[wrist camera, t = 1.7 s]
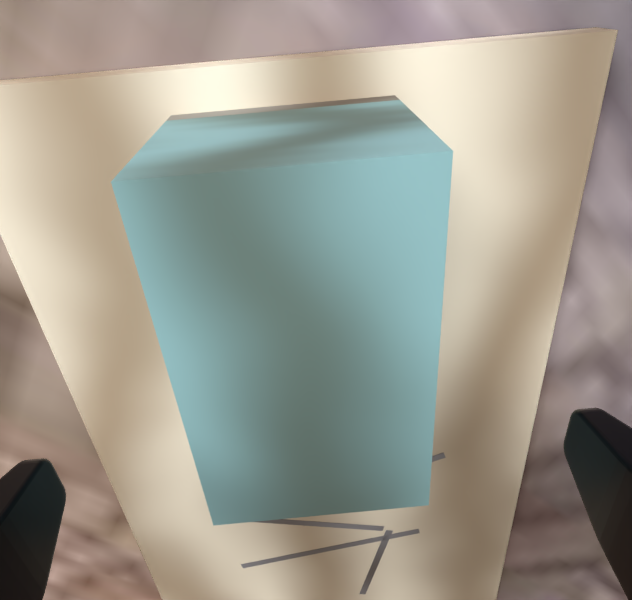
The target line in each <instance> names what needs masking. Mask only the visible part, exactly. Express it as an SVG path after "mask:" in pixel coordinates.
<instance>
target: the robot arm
mask: <svg viewBox="0 0 632 600" xmlns="http://www.w3.org/2000/svg"><path fill="white" fill-rule="evenodd" d="M564 452H565V456H566V459H567V462H568V464H569V467H570V469H571V472H572V474H573V477H574V480H575V482H576V485H577V487H578V490H579V492H580V495H581V498H582V500H583V503H584V505H585V508H586V511H587V513H588V516H589V518H590V521H591V523H592V526H593V528H594V531H595V533H596V536H597V538H598V540H599V543H600V545H601V547H602V549H603V551H604V553H605V555H606V557H607V559H608V561H609V563H610V565H611V567H612V569H613V571H614V573H615V575H616V577H617V578H618V580H619V582H620V584H621V586H622V588H623V590H624V592H625V594H626V596H627V598H628V600H632V428H631V427H629V426H627V425H626V424H624V423H623V422H621V421H620V420H618V419H616V418H615V417H613V416H612V415H610V414H608V413H607V412H605V411H604V410H602V409H599V408H588V409H578V410H575V411H574V412H573V413H572V415H571V417H570V421H569V425H568V429H567V432H566V436H565V440H564ZM65 502H66V492H65V488H64V486H63V484H62V482H61V480H60V478H59V477H58V475H57V473H56V471H55V469H54V467H53V465H52V463H51V462H50V461H49V460H47V459H44V458H43V459H32V460H24V461H22V462H20V463H18V464H17V465H16V466H15V467H13V468H12V469H11V470H10V471H9V472H8V473H6V474H5V475H4V476H3V477H2V478H1V479H0V600H42V599H43V596H44V593H45V589H46V585H47V581H48V577H49V573H50V568H51V564H52V560H53V555H54V551H55V546H56V542H57V538H58V533H59V529H60V524H61V520H62V516H63V511H64V507H65Z"/></svg>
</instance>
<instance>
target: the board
mask: <svg viewBox="0 0 632 600" xmlns="http://www.w3.org/2000/svg"><path fill="white" fill-rule="evenodd" d="M617 32H618V30H613V29H605V28H596V27H594V28H583V29H572V30H561V31H549V32H538V33H527V34H516V35H505V36H493V37H482V38H471V39H460V40H448V41H437V42H426V43H415V44H404V45H392V46H381V47H370V48H359V49H347V50H336V51H325V52H314V53H302V54H291V55H280V56H269V57H258V58H246V59H235V60H224V61H213V62H201V63H190V64H179V65H168V66H157V67H145V68H134V69H123V70H112V71H100V72H89V73H78V74H67V75H56V76H44V77H33V78H22V79H11V80H0V235H1V237H2V239H3V241H4V244H5V246H6V248H7V250H8V253H9V255H10V257H11V259H12V262H13V264H14V266H15V268H16V271H17V273H18V275H19V277H20V280H21V282H22V284H23V286H24V289H25V291H26V293H27V296H28V298H29V300H30V302H31V305H32V307H33V309H34V311H35V314H36V316H37V318H38V320H39V323H40V325H41V327H42V329H43V332H44V334H45V336H46V338H47V341H48V343H49V345H50V347H51V350H52V352H53V354H54V356H55V359H56V361H57V363H58V365H59V368H60V370H61V372H62V375H63V377H64V379H65V381H66V384H67V386H68V388H69V390H70V393H71V395H72V397H73V399H74V402H75V404H76V406H77V408H78V411H79V413H80V415H81V417H82V420H83V422H84V424H85V426H86V429H87V431H88V433H89V435H90V438H91V440H92V442H93V445H94V447H95V449H96V451H97V454H98V456H99V458H100V460H101V463H102V465H103V467H104V469H105V472H106V474H107V476H108V478H109V481H110V483H111V485H112V487H113V490H114V492H115V494H116V496H117V499H118V501H119V503H120V505H121V508H122V510H123V512H124V514H125V517H126V519H127V521H128V524H129V526H130V528H131V530H132V533H133V535H134V537H135V539H136V542H137V544H138V546H139V548H140V551H141V553H142V555H143V557H144V560H145V562H146V564H147V566H148V569H149V571H150V573H151V575H152V578H153V580H154V582H155V584H156V587H157V589H158V591H159V593H160V596H161V598H162V600H496V598H497V593H498V588H499V584H500V579H501V574H502V570H503V565H504V560H505V556H506V551H507V546H508V542H509V537H510V532H511V528H512V523H513V518H514V514H515V509H516V504H517V500H518V495H519V490H520V486H521V481H522V476H523V472H524V467H525V462H526V457H527V453H528V448H529V443H530V439H531V434H532V429H533V425H534V420H535V415H536V411H537V406H538V401H539V397H540V392H541V387H542V383H543V378H544V373H545V369H546V364H547V359H548V355H549V350H550V345H551V341H552V336H553V331H554V327H555V322H556V317H557V312H558V308H559V303H560V298H561V294H562V289H563V284H564V280H565V275H566V270H567V266H568V261H569V256H570V252H571V247H572V242H573V238H574V233H575V228H576V224H577V219H578V214H579V210H580V205H581V200H582V196H583V191H584V186H585V182H586V177H587V172H588V167H589V163H590V158H591V153H592V149H593V144H594V139H595V135H596V130H597V125H598V121H599V116H600V111H601V107H602V102H603V97H604V93H605V88H606V83H607V79H608V74H609V69H610V65H611V60H612V55H613V51H614V46H615V41H616V36H617ZM392 95H395V96H396V97H397V98H399V99H400V100H401V101H402V102H403V103H404V104H405V105H406V106H407V107H408V108H409V109H410V110H411V111H412V112H413V113H414V114H415V115H416V116H417V117H418V118H419V119H420V120H421V121H423V122H424V123H425V124H426V125H427V126H428V127H429V128H430V129H431V130H432V131H433V132H434V133H435V134H436V135H437V136H438V137H439V138H440V139H441V140H442V141H443V142H444V143H445V144H447V145H448V146H449V147H450V148H451V149H452V150H453V160H452V175H451V189H450V204H449V218H448V233H447V247H446V262H445V277H444V291H443V306H442V320H441V335H440V349H439V364H438V379H437V393H436V408H435V422H434V437H433V451H432V466H431V481H430V495H429V505H427V506H416V507H406V508H395V509H384V510H374V511H363V512H352V513H342V514H331V515H320V516H310V517H299V518H288V519H278V520H267V521H256V522H246V523H235V524H225V525H214V526H213V522H212V519H211V516H210V512H209V509H208V506H207V502H206V499H205V496H204V492H203V489H202V485H201V482H200V479H199V475H198V472H197V469H196V465H195V462H194V459H193V455H192V452H191V449H190V445H189V442H188V439H187V435H186V432H185V429H184V425H183V422H182V419H181V415H180V412H179V408H178V405H177V402H176V398H175V395H174V392H173V388H172V385H171V382H170V378H169V375H168V372H167V368H166V365H165V362H164V358H163V355H162V352H161V348H160V345H159V342H158V338H157V335H156V331H155V328H154V325H153V321H152V318H151V315H150V311H149V308H148V305H147V301H146V298H145V295H144V291H143V288H142V285H141V281H140V278H139V275H138V271H137V268H136V265H135V261H134V258H133V254H132V251H131V248H130V244H129V241H128V238H127V234H126V231H125V228H124V224H123V221H122V218H121V214H120V211H119V208H118V204H117V201H116V198H115V194H114V191H113V187H112V184H111V181H112V180H113V179H114V178H115V177H116V175H117V174H118V173H119V172H120V171H121V170H122V169H123V168H124V167H125V166H126V164H127V163H128V162H129V161H130V160H131V159H132V158H133V157H134V156H135V154H136V153H137V152H138V151H139V150H140V149H141V148H142V147H143V146H144V145H145V143H146V142H147V141H148V140H149V139H150V138H151V137H152V136H153V135H154V134H155V132H156V131H157V130H158V129H159V128H160V127H161V126H162V125H163V124H164V122H165V121H166V120H167V119H168V118H169V117H170V116H171V115H180V114H191V113H202V112H213V111H225V110H236V109H247V108H258V107H269V106H280V105H292V104H303V103H314V102H325V101H336V100H347V99H359V98H370V97H381V96H392Z"/></svg>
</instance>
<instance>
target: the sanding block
mask: <svg viewBox="0 0 632 600" xmlns="http://www.w3.org/2000/svg"><path fill="white" fill-rule="evenodd" d="M452 160H453V150H452V149H451V148H450V147H449V146H448V145H447V144H445V143H444V142H443V141H442V140H441V139H440V138H439V137H438V136H437V135H436V134H435V133H434V132H433V131H432V130H431V129H430V128H429V127H428V126H427V125H426V124H425V123H424V122H423V121H421V120H420V119H419V118H418V117H417V116H416V115H415V114H414V113H413V112H412V111H411V110H410V109H409V108H408V107H407V106H406V105H405V104H404V103H403V102H402V101H401V100H400V99H399V98H397V97H396V96H395V95H392V96H381V97H370V98H359V99H347V100H336V101H325V102H314V103H303V104H292V105H280V106H269V107H258V108H247V109H236V110H225V111H213V112H202V113H191V114H180V115H171V116H170V117H169V118H168V119H167V120H166V121H165V122H164V124H163V125H162V126H161V127H160V128H159V129H158V130H157V131H156V132H155V134H154V135H153V136H152V137H151V138H150V139H149V140H148V141H147V142H146V143H145V145H144V146H143V147H142V148H141V149H140V150H139V151H138V152H137V153H136V154H135V156H134V157H133V158H132V159H131V160H130V161H129V162H128V163H127V164H126V166H125V167H124V168H123V169H122V170H121V171H120V172H119V173H118V174H117V175H116V177H115V178H114V179H113V180H112V181H111V184H112V187H113V191H114V194H115V198H116V201H117V204H118V208H119V211H120V214H121V218H122V221H123V224H124V228H125V231H126V234H127V238H128V241H129V244H130V248H131V251H132V254H133V258H134V261H135V265H136V268H137V271H138V275H139V278H140V281H141V285H142V288H143V291H144V295H145V298H146V301H147V305H148V308H149V311H150V315H151V318H152V321H153V325H154V328H155V331H156V335H157V338H158V342H159V345H160V348H161V352H162V355H163V358H164V362H165V365H166V368H167V372H168V375H169V378H170V382H171V385H172V388H173V392H174V395H175V398H176V402H177V405H178V408H179V412H180V415H181V419H182V422H183V425H184V429H185V432H186V435H187V439H188V442H189V445H190V449H191V452H192V455H193V459H194V462H195V465H196V469H197V472H198V475H199V479H200V482H201V485H202V489H203V492H204V496H205V499H206V502H207V506H208V509H209V512H210V516H211V519H212V522H213V526H214V525H225V524H235V523H246V522H256V521H267V520H278V519H288V518H299V517H310V516H320V515H331V514H342V513H352V512H363V511H374V510H384V509H395V508H406V507H416V506H427V505H429V495H430V481H431V466H432V451H433V437H434V422H435V408H436V393H437V379H438V364H439V349H440V335H441V320H442V306H443V291H444V277H445V262H446V247H447V233H448V218H449V204H450V189H451V175H452Z"/></svg>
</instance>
